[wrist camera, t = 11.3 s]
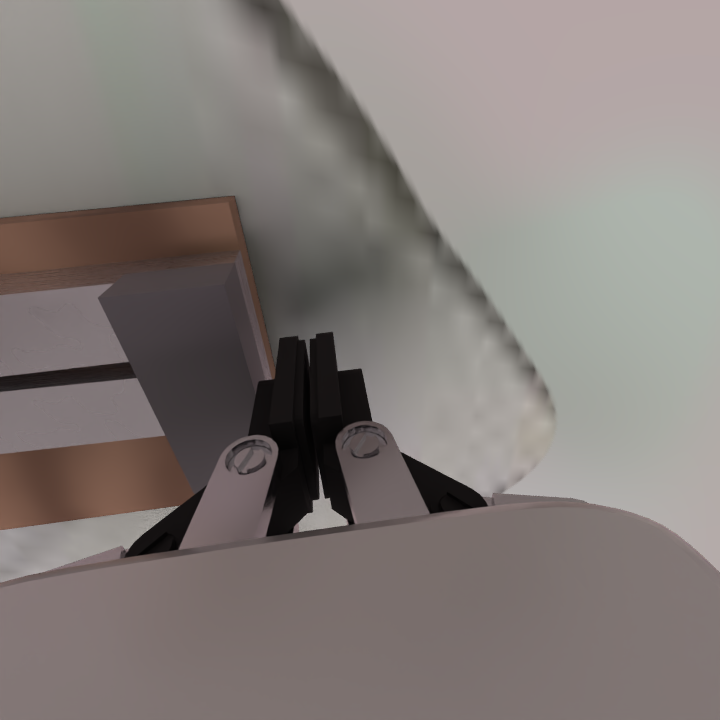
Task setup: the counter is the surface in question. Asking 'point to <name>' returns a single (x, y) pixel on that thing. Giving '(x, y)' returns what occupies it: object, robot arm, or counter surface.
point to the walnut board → (127, 457)
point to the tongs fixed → (82, 313)
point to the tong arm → (74, 408)
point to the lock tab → (190, 357)
